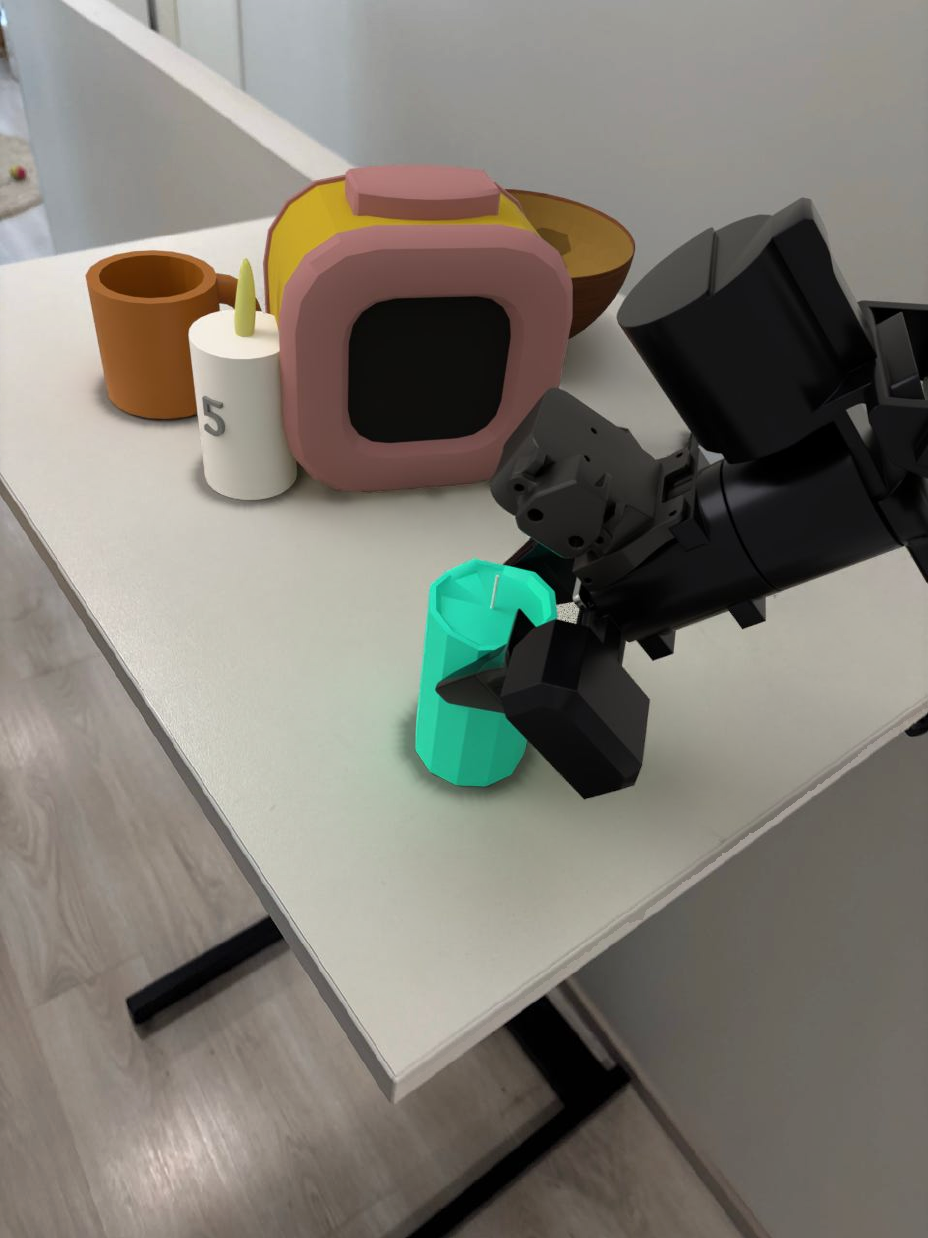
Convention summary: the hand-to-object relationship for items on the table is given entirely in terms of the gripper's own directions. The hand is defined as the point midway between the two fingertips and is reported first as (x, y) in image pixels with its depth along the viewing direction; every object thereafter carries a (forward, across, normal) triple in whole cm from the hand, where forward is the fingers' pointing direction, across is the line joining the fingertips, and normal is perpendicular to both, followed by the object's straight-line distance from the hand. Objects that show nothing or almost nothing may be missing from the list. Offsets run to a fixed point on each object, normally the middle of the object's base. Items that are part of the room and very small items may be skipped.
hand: (456, 648), depth 45 cm
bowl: (+9, -44, +1) cm, 45 cm away
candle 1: (+18, -18, -8) cm, 27 cm away
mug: (+24, -26, -14) cm, 39 cm away
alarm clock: (+11, -24, -2) cm, 27 cm away
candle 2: (+4, 0, +6) cm, 7 cm away
